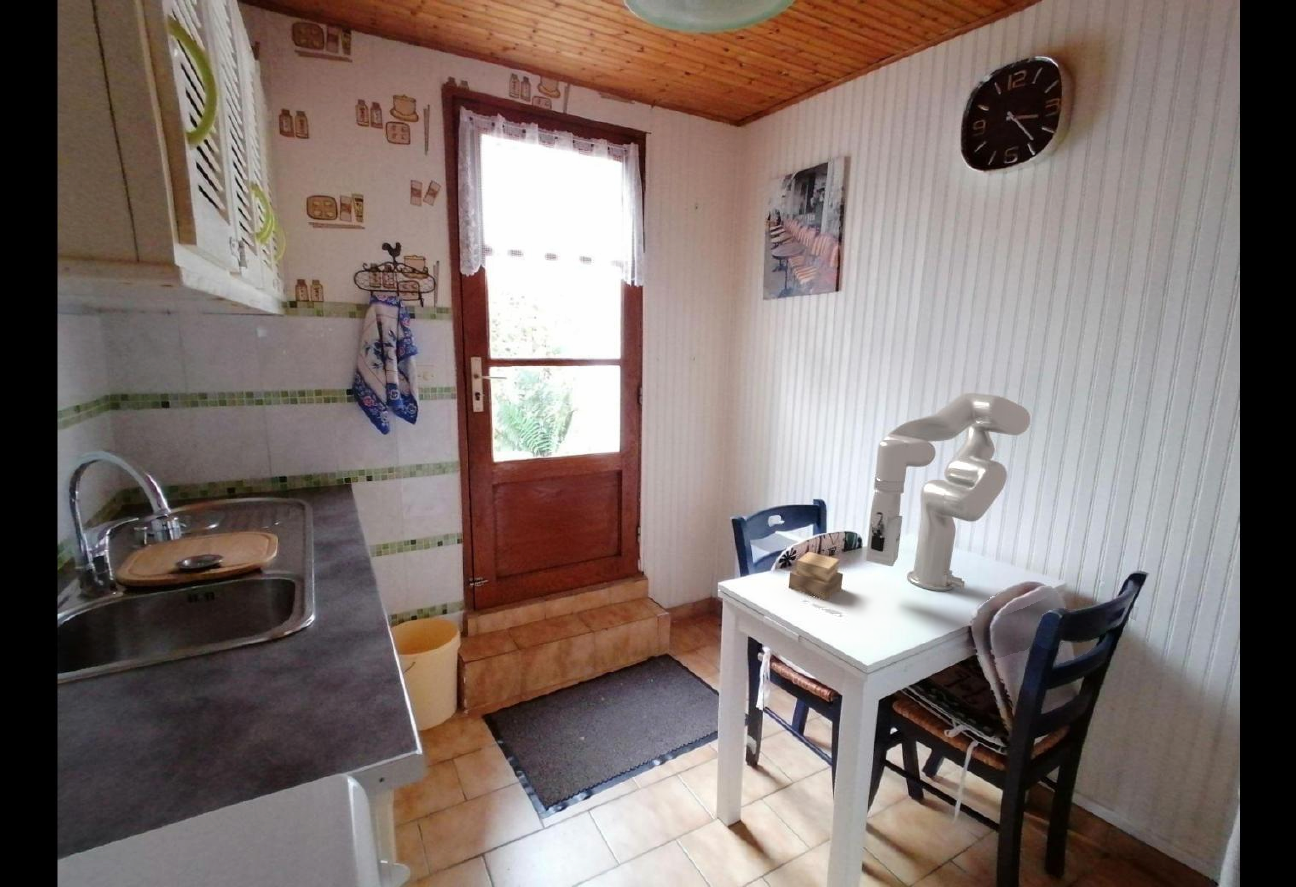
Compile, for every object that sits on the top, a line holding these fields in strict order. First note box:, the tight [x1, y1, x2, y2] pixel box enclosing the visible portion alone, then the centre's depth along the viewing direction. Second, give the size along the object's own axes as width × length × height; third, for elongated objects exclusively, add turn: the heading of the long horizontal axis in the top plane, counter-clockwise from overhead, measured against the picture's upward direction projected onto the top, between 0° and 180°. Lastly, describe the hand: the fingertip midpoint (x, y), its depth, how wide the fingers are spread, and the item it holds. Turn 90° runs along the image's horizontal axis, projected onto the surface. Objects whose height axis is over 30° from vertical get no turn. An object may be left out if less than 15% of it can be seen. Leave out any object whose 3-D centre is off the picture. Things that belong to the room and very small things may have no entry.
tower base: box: [788, 568, 844, 601], centre depth 161 cm, size 11×11×5 cm
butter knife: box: [801, 599, 843, 617], centre depth 153 cm, size 1×24×3 cm
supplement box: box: [865, 515, 903, 567], centre depth 155 cm, size 7×7×13 cm
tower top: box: [795, 551, 840, 582], centre depth 160 cm, size 9×9×4 cm
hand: (882, 545), depth 156 cm, fingers closed on supplement box, 7 cm apart
